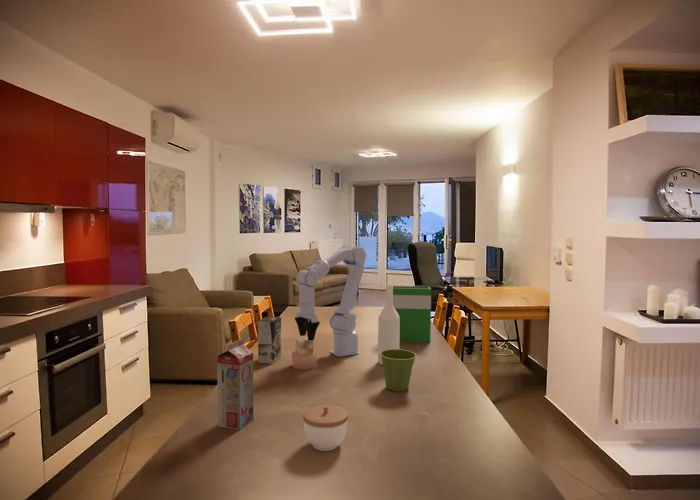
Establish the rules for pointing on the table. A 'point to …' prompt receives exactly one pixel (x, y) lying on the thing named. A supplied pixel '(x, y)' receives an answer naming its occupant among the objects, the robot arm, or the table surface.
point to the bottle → (388, 325)
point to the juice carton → (235, 386)
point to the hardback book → (413, 312)
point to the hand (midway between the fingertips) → (306, 337)
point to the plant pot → (397, 368)
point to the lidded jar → (325, 426)
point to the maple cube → (304, 346)
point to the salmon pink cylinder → (303, 361)
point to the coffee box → (269, 339)
